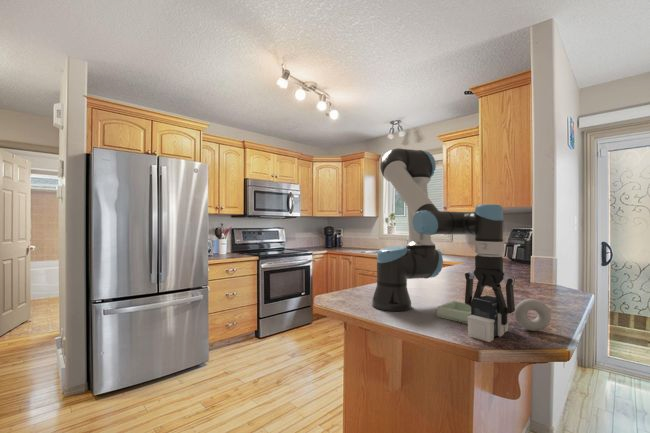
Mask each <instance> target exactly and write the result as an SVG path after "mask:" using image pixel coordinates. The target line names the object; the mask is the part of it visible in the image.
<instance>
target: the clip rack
mask: <svg viewBox="0 0 650 433" xmlns="http://www.w3.org/2000/svg"><path fill="white" fill-rule="evenodd" d="M509 315H510V313H508V314H507V324H506V325H504V334H505V333H507V332H508V331H509ZM467 319H468V324H467V337H470V338H473V339H477V340H481V341H483V342H488V343H490V342H492V341H493V340H494V339H495V338H494V322H495V320H493V319H488V318H484V317H480V316H475V315H470V316H468V317H467Z"/></svg>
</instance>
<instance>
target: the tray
mask: <svg viewBox="0 0 650 433" xmlns="http://www.w3.org/2000/svg"><path fill="white" fill-rule="evenodd" d="M470 315H471V306H469V305H468V304H465V302H463V301H462V302H461V301H456V300H453V301H450V302H447V303H444V304H441V305H438V306H437V307H436V317H437V318H442V319H446V320H449V321H453V320H454V321H453V322H457V321H458V322H457V323H461V322H462V323H461V324H464V325H468V319H467V317H468V316H470Z"/></svg>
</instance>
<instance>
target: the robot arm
mask: <svg viewBox="0 0 650 433" xmlns="http://www.w3.org/2000/svg"><path fill="white" fill-rule="evenodd" d="M379 166H380V167H379V168H380V173H381V174H382V177H384V179H385V180H386V181H388V182H390V183H391V185H392V186H393V188H394V189H395V191H396V192H397V194H398V195H399V197H400V198H401V199H402V200H403V202H404V203H405V205H406V207H407V221H408V222H407V224H408V237H409V239H408V240H409V242H407V244H406V245H405V246H403V245H402V246H401V245H399V246H398V245H397V246H385V247H382V248H380V249H378V251H377V255H376V288H375V291H374V294H373V296H372V299H371V301H372V302H371V303H372V304H371V305H372V307H374V308H376V309H378V310H381V311H387V312H405V311H409V310H411V309H412V300H411V297H410V293H409V290H408V286H407V285H408V280H414V279H417V280H418V279H425V280H426V279H430V278H431V279H432V278H436V277H437V276H438V275H439V274H440V273H441V271H442V269H443V265H444V259H443V255H442V254H441V252H440V250H438V249H436V244H435V243H434V242H433V241H432V236H431V235H465V236H466V235H467V236H469V235H470V236H471V235H472V236H473V235H474V236H475V237H474V242H475V244H474V245H475V246H474V248H475V249H474V250H475V251H474V253H475V254H476V255H475V257H474V267H475V268H474V270H473V271H472V272H471V271H469V272H465V273H464V277H465V294H464V295H465V296H464V303H465V304H468V305H469V306H471V315H473V302H474V298H478V297H482V294H483V291H484V290H485V287H490V288H491V289H492V291H493V292H494V297H496V299H497V302H498V305H499V309H500V313H498V335H497V336H498V337H502V336H504V335H505V333H504V325H506V324H507V314H508V313H509V314H512V313H514V312H515V308H516V306H515V294H514V293H515V291H514V284H515V282H516V279H515V278H514V277H509V276H506V275H505V272H504V257H503V255H504V220H505V219H504V209H503V207H502V205H500V204H493V203H491V204H477V205H476V206H475V207H474V208H475V209H474V211H444V210H443V211H441V210H439V209H438V207H436V206H435V204H434V203H433V202H432V200H431V199H430V198H429V192H428V184H429V183H430V181H431V178H432V177H433V176H434V174H435V171H436V167H437V164H436V159H435V158H434V156H433V154H432V153H431V152H429V151H425V150H422V149H407V148H400V147H399V148H398V147H397V148H393V149H390V150H388V151H387V152H386V153H385V154H384V155H383V156H382V158H381V160H380V165H379ZM474 279H476V280H477V284H476V288H475V290H474ZM503 280H504V281H503ZM502 281H503V282H504V284H505V294H506V295H505V296H506V301H505V298H504V294H503V290H502V287H501V282H502ZM473 291H474V293H473Z"/></svg>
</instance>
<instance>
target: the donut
mask: <svg viewBox="0 0 650 433" xmlns="http://www.w3.org/2000/svg"><path fill="white" fill-rule="evenodd" d="M532 310H533V311H536V312H537V317H536V318H534V319H530V318H528V313H529V311H532ZM513 315H514V319H515V321H516V322H517V324H518V325H519V326H520V327H521V328H523V329H525V330H527V331H530V332H539V331H542V330H544V329H546V328H547V327H548V326H549V325H550V323H551V320H552V314H551V310H550V308H549V306H547V304H545V303H544V302H543V301H541V300H539V299H535V298H525V299H522V300H521V301H519V302H518V303H517V305H516V306H515V311H514V312H513Z"/></svg>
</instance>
